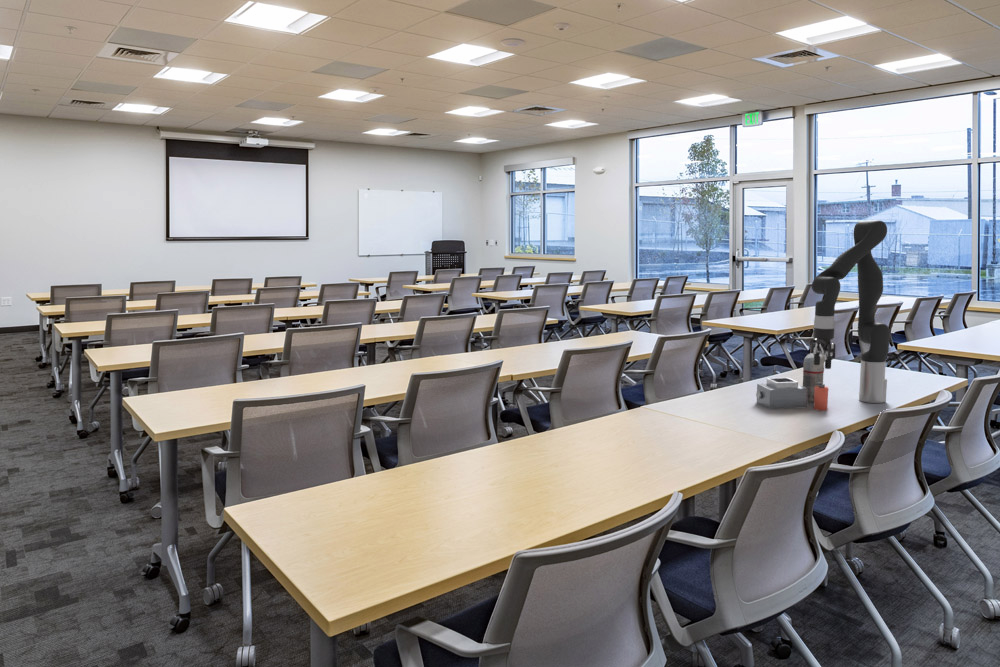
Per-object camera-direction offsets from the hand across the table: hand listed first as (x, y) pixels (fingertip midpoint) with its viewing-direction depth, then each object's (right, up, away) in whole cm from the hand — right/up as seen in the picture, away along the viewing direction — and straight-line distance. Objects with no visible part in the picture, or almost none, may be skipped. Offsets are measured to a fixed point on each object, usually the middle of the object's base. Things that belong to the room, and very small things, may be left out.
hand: (822, 366), depth 286 cm
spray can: (+3, -15, +17) cm, 23 cm away
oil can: (0, -17, +3) cm, 17 cm away
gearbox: (-12, -16, +10) cm, 23 cm away
